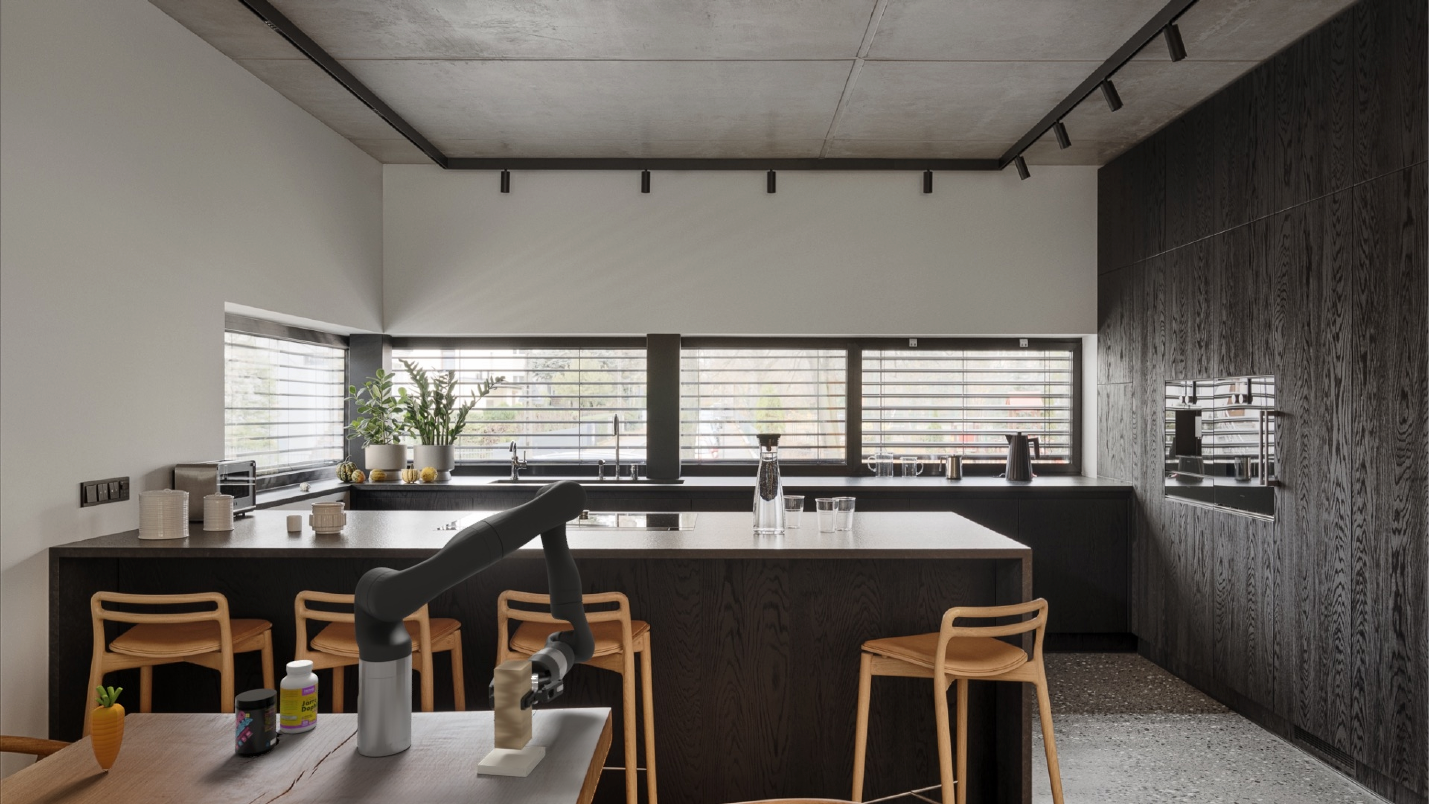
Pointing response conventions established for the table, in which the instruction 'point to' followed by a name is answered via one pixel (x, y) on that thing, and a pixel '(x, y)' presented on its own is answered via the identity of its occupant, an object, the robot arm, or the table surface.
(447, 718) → the table surface
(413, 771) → the table surface
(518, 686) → the oak block
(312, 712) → the supplement bottle
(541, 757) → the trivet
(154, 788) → the table surface
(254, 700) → the supplement container
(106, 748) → the carrot
